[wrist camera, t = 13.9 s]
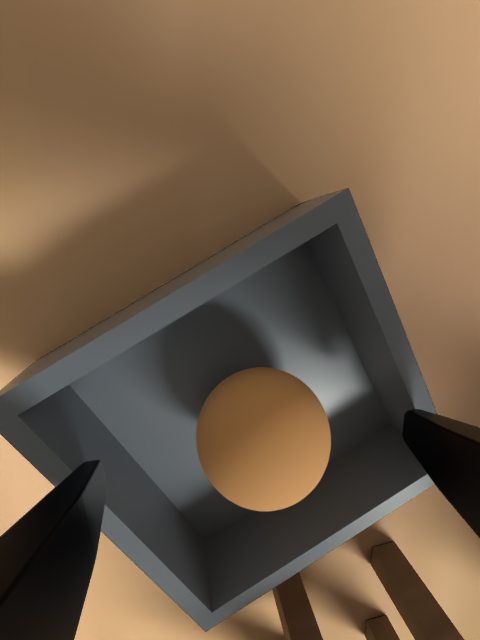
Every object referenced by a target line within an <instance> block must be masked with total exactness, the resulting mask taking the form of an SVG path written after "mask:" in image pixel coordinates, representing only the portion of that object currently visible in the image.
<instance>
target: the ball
mask: <svg viewBox="0 0 480 640" xmlns="http://www.w3.org/2000/svg"><path fill="white" fill-rule="evenodd" d="M196 445H197V452H198V456H199V460H200V463H201V466H202V468H203V470H204V472H205V475H206V476H207V478H208V479H209V481H210V482H211V484H212V485H213V486H214V487H215V488H216V490H217V491H218V492H219V493H221V494H222V495H223V496H224V497H225V498H227V499H228V500H229V501H231V502H233V503H235V504H237V505H238V506H241V507H243V508H246V509H250V510H255V511H276V510H280V509H284V508H287V507H290V506H292V505H294V504H296V503H298V502H299V501H301V500H302V499H303V498H305V497H306V496H307V495H308V494H309V493H310V492H311V491H312V490H313V489H314V488H315V487H316V486H317V484H318V483H319V481H320V480H321V478H322V476H323V474H324V472H325V469H326V467H327V464H328V461H329V456H330V450H331V433H330V426H329V422H328V418H327V415H326V413H325V410H324V408H323V406H322V404H321V402H320V401H319V399H318V398H317V396H316V395H315V394H314V392H313V391H312V390H311V389H310V388H309V387H308V386H307V385H306V384H305V383H304V382H302V381H301V380H300V379H298V378H297V377H295V376H293V375H291V374H290V373H287V372H285V371H282V370H278V369H274V368H268V367H255V368H249V369H245V370H242V371H239V372H237V373H234V374H232V375H231V376H229V377H227V378H226V379H224V380H223V381H222V382H221V383H219V384H218V385H217V386H216V387H215V388H214V389H213V391H212V392H211V393H210V395H209V396H208V397H207V399H206V401H205V403H204V405H203V407H202V409H201V412H200V415H199V418H198V423H197V428H196Z"/></svg>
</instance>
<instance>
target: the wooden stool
mask: <svg viewBox="0 0 480 640" xmlns="http://www.w3.org/2000/svg"><path fill="white" fill-rule="evenodd" d="M371 566H372V567H373V569H374V571H375V572H376V574H377V576H378V578H379V579H380V581H381V583H382V584H383V586H384V588H385V589H386V591H387V593H388V595H389V596H390V598H391V600H392V601H393V603H394V605H395V606H396V608H397V610H398V611H399V613H400V615H401V617H402V618H403V620H404V622H405V623H406V625H407V627H408V628H409V630H410V632H411V634H412V635H413V637H414V639H415V640H464V639H463V637H462V636H461V635H460V633H459V632H458V630H457V629H456V628H455V626H454V625H453V623H452V622H451V621H450V619H449V618H448V616H447V615H446V614H445V612H444V611H443V609H442V608H441V606H440V605H439V604H438V602H437V601H436V599H435V598H434V597H433V595H432V594H431V592H430V591H429V590H428V588H427V587H426V585H425V584H424V583H423V581H422V580H421V578H420V577H419V576H418V574H417V573H416V571H415V570H414V569H413V567H412V566H411V564H410V563H409V562H408V560H407V559H406V557H405V556H404V555H403V553H402V552H401V550H400V549H399V548H398V546H397V545H396V543H395V542H391V543H387V544H383V545H379V546H375V547H373V550H372V561H371ZM273 594H274V598H275V601H276V605H277V609H278V613H279V616H280V620H281V624H282V628H283V632H284V635H285V639H286V640H323V638H322V636H321V633H320V630H319V627H318V625H317V622H316V619H315V616H314V613H313V611H312V608H311V605H310V602H309V599H308V597H307V594H306V591H305V588H304V585H303V583H302V580H301V577H300V574H299V572H298V573H296V574H295V575H293V576H291V577H290V578H288V579H287V580H285V581H284V582H282V583H281V584H279V585H278V586H276V587H274V588H273ZM365 637H366V639H367V640H400V639H399V637H398V635H397V634H396V632H395V630H394V628H393V626H392V625H391V623H390V621H389V619H388V617H387V615H384V616H381V617H378V618H374V619H371V620H367V621H366V631H365Z"/></svg>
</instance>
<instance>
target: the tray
mask: <svg viewBox="0 0 480 640" xmlns="http://www.w3.org/2000/svg"><path fill="white" fill-rule="evenodd" d="M255 367H268V368H274V369H278V370H282V371H285V372H287V373H290V374H291V375H293V376H295V377H297V378H298V379H300V380H301V381H302V382H304V383H305V384H306V385H307V386H308V387H309V388H310V389H311V390H312V391H313V392H314V394H315V395H316V396H317V398H318V399H319V401H320V402H321V404H322V406H323V408H324V410H325V413H326V415H327V418H328V422H329V426H330V433H331V450H330V456H329V461H328V464H327V467H326V469H325V472H324V474H323V476H322V478H321V480H320V481H319V483H318V484H317V486H316V487H315V488H314V489H313V490H312V491H311V492H310V493H309V494H308V495H307V496H306V497H305V498H303V499H302V500H301V501H299V502H298V503H296V504H294V505H292V506H290V507H287V508H284V509H280V510H276V511H255V510H250V509H246V508H243V507H241V506H238V505H237V504H235V503H233V502H231V501H229V500H228V499H227V498H225V497H224V496H223V495H222V494H221V493H219V492H218V491H217V490H216V488H215V487H214V486H213V485H212V484H211V482H210V481H209V479H208V478H207V476H206V475H205V472H204V470H203V468H202V466H201V463H200V460H199V456H198V452H197V445H196V428H197V423H198V418H199V415H200V412H201V409H202V407H203V405H204V403H205V401H206V399H207V397H208V396H209V395H210V393H211V392H212V391H213V389H214V388H215V387H216V386H217V385H218V384H219V383H221V382H222V381H223V380H224V379H226V378H227V377H229V376H231V375H232V374H234V373H237V372H239V371H242V370H245V369H249V368H255ZM414 409H421V410H424V411H427V412H431V413H434V414H437V412H436V410H435V407H434V405H433V402H432V400H431V397H430V395H429V392H428V389H427V387H426V384H425V382H424V379H423V377H422V374H421V372H420V369H419V366H418V364H417V361H416V359H415V356H414V354H413V351H412V349H411V346H410V343H409V341H408V338H407V336H406V333H405V331H404V328H403V326H402V323H401V320H400V318H399V315H398V313H397V310H396V308H395V305H394V303H393V300H392V297H391V295H390V292H389V290H388V287H387V285H386V282H385V280H384V277H383V274H382V272H381V269H380V267H379V264H378V262H377V259H376V257H375V254H374V251H373V249H372V246H371V244H370V241H369V239H368V236H367V234H366V231H365V228H364V226H363V223H362V221H361V218H360V216H359V213H358V211H357V208H356V206H355V203H354V200H353V198H352V195H351V193H350V190H349V188H346V189H343V190H340V191H337V192H334V193H331V194H327V195H324V196H321V197H318V198H315V199H312V200H309V201H306V202H303V203H300V204H299V205H297V206H295V207H294V208H292V209H290V210H289V211H287V212H285V213H284V214H282V215H280V216H278V217H277V218H275V219H273V220H272V221H270V222H268V223H267V224H265V225H263V226H262V227H260V228H258V229H257V230H255V231H253V232H252V233H250V234H248V235H247V236H245V237H243V238H242V239H240V240H238V241H237V242H235V243H233V244H231V245H230V246H228V247H226V248H225V249H223V250H221V251H220V252H218V253H216V254H215V255H213V256H211V257H210V258H208V259H206V260H205V261H203V262H201V263H200V264H198V265H196V266H195V267H193V268H191V269H190V270H188V271H186V272H185V273H183V274H181V275H179V276H178V277H176V278H174V279H173V280H171V281H169V282H168V283H166V284H164V285H163V286H161V287H159V288H158V289H156V290H154V291H153V292H151V293H149V294H148V295H146V296H144V297H143V298H141V299H139V300H138V301H136V302H134V303H132V304H131V305H129V306H127V307H126V308H124V309H122V310H121V311H119V312H117V313H116V314H114V315H112V316H111V317H109V318H107V319H106V320H104V321H102V322H101V323H99V324H97V325H96V326H94V327H92V328H91V329H89V330H87V331H85V332H84V333H82V334H80V335H79V336H77V337H75V338H74V339H72V340H70V341H69V342H67V343H65V344H64V345H62V346H60V347H59V348H57V349H55V350H54V351H52V352H50V353H49V354H47V355H45V356H44V357H42V358H40V359H39V360H37V361H35V362H34V363H33V364H32V365H30V366H29V367H28V368H27V369H26V370H24V371H23V372H22V373H21V374H19V375H18V376H17V377H16V378H15V379H13V380H12V381H11V382H10V383H9V384H7V385H6V386H5V387H4V388H2V389H1V390H0V434H1V435H2V436H3V437H4V438H5V439H6V440H7V441H8V442H9V443H10V444H11V445H12V446H13V447H14V448H15V449H16V450H17V451H18V452H19V453H21V454H22V455H23V456H24V457H25V458H26V459H27V460H28V461H29V462H30V463H31V464H32V465H33V466H34V467H35V468H36V469H37V470H38V471H39V472H40V473H41V474H42V475H43V476H44V477H45V478H46V479H48V480H49V481H50V482H51V483H52V484H53V485H54V486H55V487H56V486H57V485H58V484H60V483H61V482H62V481H63V480H64V479H65V478H66V477H67V476H68V475H70V474H71V473H72V472H73V471H74V470H75V469H76V468H77V467H78V466H80V465H81V464H82V463H83V462H85V461H91V460H98V459H99V460H101V461H102V464H103V469H104V474H105V479H106V485H107V494H106V501H105V507H104V513H103V519H102V525H101V531H102V532H103V533H104V534H105V535H106V536H107V537H108V538H109V539H110V540H111V541H112V542H113V543H114V544H115V545H116V546H117V547H118V548H119V549H120V550H121V551H122V552H123V553H124V554H125V555H126V556H127V557H129V558H130V559H131V560H132V561H133V562H134V563H135V564H136V565H137V566H138V567H139V568H140V569H141V570H142V571H143V572H144V573H145V574H146V575H147V576H148V577H149V578H150V579H151V580H152V581H153V582H154V583H156V584H157V585H158V586H159V587H160V588H161V589H162V590H163V591H164V592H165V593H166V594H167V595H168V596H169V597H170V598H171V599H172V600H173V601H174V602H175V603H176V604H177V605H178V606H179V607H180V608H181V609H182V610H184V611H185V612H186V613H187V614H188V615H189V616H190V617H191V618H192V619H193V620H194V621H195V622H196V623H197V624H198V625H199V626H200V627H201V628H202V629H203V630H204V631H205V632H206V631H208V630H209V629H211V628H212V627H214V626H216V625H217V624H219V623H220V622H222V621H223V620H225V619H226V618H228V617H229V616H231V615H233V614H234V613H236V612H237V611H239V610H240V609H242V608H243V607H245V606H247V605H248V604H250V603H251V602H253V601H254V600H256V599H257V598H259V597H260V596H262V595H264V594H265V593H267V592H268V591H270V590H271V589H273V588H274V587H276V586H278V585H279V584H281V583H282V582H284V581H285V580H287V579H288V578H290V577H291V576H293V575H295V574H296V573H298V572H299V571H301V570H302V569H304V568H305V567H307V566H309V565H310V564H312V563H313V562H315V561H316V560H318V559H319V558H321V557H322V556H324V555H326V554H327V553H329V552H330V551H332V550H333V549H335V548H336V547H338V546H340V545H341V544H343V543H344V542H346V541H347V540H349V539H350V538H352V537H353V536H355V535H357V534H358V533H360V532H361V531H363V530H364V529H366V528H367V527H369V526H371V525H372V524H374V523H375V522H377V521H378V520H380V519H381V518H383V517H384V516H386V515H388V514H389V513H391V512H392V511H394V510H395V509H397V508H398V507H400V506H402V505H403V504H405V503H406V502H408V501H409V500H411V499H412V498H414V497H416V496H417V495H419V494H420V493H422V492H423V491H425V490H426V489H428V488H429V487H431V486H433V485H434V482H433V481H432V480H431V478H430V477H429V475H428V474H427V473H426V471H425V470H424V468H423V467H422V466H421V464H420V463H419V461H418V460H417V459H416V457H415V456H414V454H413V453H412V451H411V450H410V449H409V447H408V446H407V444H406V443H405V441H404V439H403V436H402V430H403V421H404V414H405V412H406V411H408V410H414Z"/></svg>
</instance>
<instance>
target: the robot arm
mask: <svg viewBox="0 0 480 640" xmlns="http://www.w3.org/2000/svg"><path fill="white" fill-rule="evenodd" d="M402 436H403V439H404V441H405V443H406V444H407V446H408V447H409V449H410V450H411V451H412V453H413V454H414V456H415V457H416V459H417V460H418V461H419V463H420V464H421V466H422V467H423V468H424V470H425V471H426V473H427V474H428V475H429V477H430V478H431V480H432V481H433V482H434V484H435V485H436V486H437V488H438V489H439V490H440V491H441V493H442V494H443V495H444V496H445V497H446V499H447V500H448V501H449V502H450V503H451V504H452V506H453V507H454V508H455V509H456V510H457V512H458V513H459V514H460V515H461V516H462V518H463V519H464V520H465V521H466V522H467V523H468V525H469V526H470V527H471V528H472V529H473V531H474V532H475V533H476V534H477V535H478V537H479V538H480V428H479V427H476V426H473V425H469V424H466V423H463V422H460V421H456V420H453V419H450V418H447V417H444V416H440V415H437V414H434V413H431V412H427V411H424V410H421V409H414V410H408V411H406V412H405V414H404V421H403V430H402ZM106 494H107V485H106V479H105V474H104V469H103V464H102V461H101V460H99V459H98V460H91V461H85V462H83V463H82V464H81V465H80V466H78V467H77V468H76V469H75V470H74V471H73V472H72V473H71V474H70V475H68V476H67V477H66V478H65V479H64V480H63V481H62V482H61V483H60V484H58V485H57V486H56V487H55V488H54V489H53V490H52V491H51V492H49V493H48V494H47V495H46V496H45V497H44V498H43V499H42V500H41V501H39V502H38V503H37V504H36V505H35V506H34V507H33V508H32V509H30V510H29V511H28V512H27V513H26V514H25V515H24V516H23V517H22V518H20V519H19V520H18V521H17V522H16V523H15V524H14V525H13V526H12V527H10V528H9V529H8V530H7V531H6V532H5V533H4V534H3V535H1V536H0V640H74V638H75V635H76V631H77V627H78V624H79V620H80V616H81V612H82V609H83V605H84V601H85V598H86V594H87V590H88V587H89V583H90V579H91V575H92V572H93V568H94V564H95V560H96V555H97V549H98V543H99V537H100V531H101V525H102V519H103V513H104V507H105V501H106Z"/></svg>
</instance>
